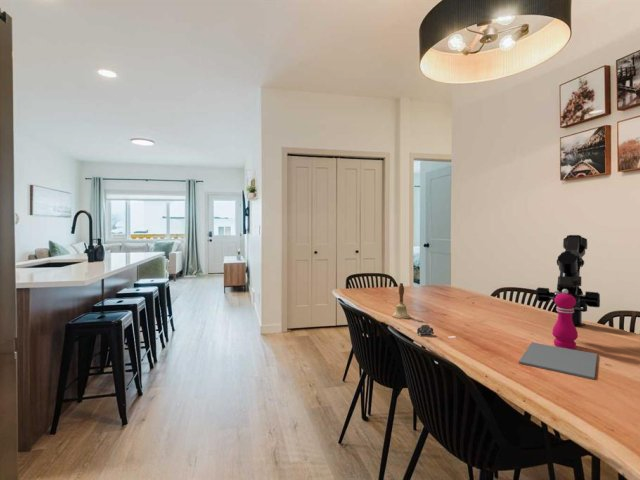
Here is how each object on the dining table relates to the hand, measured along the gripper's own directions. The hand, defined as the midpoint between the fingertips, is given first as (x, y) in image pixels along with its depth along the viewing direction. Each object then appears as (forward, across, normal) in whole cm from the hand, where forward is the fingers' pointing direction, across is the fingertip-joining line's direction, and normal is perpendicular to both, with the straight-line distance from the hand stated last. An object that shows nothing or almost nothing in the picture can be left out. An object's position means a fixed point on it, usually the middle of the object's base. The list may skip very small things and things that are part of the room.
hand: (565, 316), depth 120 cm
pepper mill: (+9, 0, +5) cm, 10 cm away
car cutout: (+20, -40, -5) cm, 45 cm away
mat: (+20, 0, -6) cm, 21 cm away
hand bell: (+8, -63, +7) cm, 64 cm away
